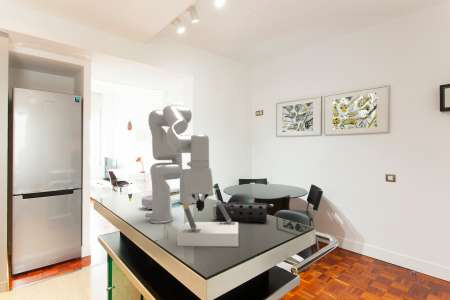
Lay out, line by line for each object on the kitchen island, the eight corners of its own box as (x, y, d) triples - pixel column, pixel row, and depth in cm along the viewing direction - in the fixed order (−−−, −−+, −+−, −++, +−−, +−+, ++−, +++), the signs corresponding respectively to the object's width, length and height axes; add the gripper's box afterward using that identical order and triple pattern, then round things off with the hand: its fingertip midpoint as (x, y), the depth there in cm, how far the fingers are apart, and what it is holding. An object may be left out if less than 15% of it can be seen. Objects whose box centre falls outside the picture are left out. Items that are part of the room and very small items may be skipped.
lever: (228, 224, 107) (216, 203, 108) (228, 222, 111) (216, 201, 111) (231, 222, 107) (219, 201, 108) (231, 220, 111) (219, 199, 111)
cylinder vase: (177, 204, 176) (177, 169, 176) (183, 201, 188) (183, 168, 188) (194, 205, 174) (193, 169, 174) (199, 201, 186) (198, 168, 186)
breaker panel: (177, 245, 96) (177, 232, 96) (186, 232, 112) (186, 221, 112) (238, 246, 95) (238, 233, 95) (238, 233, 111) (238, 221, 111)
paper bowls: (159, 211, 155) (159, 199, 155) (137, 210, 158) (137, 198, 158) (168, 206, 170) (168, 195, 170) (148, 205, 173) (148, 194, 173)
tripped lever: (191, 231, 97) (182, 206, 98) (193, 229, 101) (184, 204, 101) (195, 230, 97) (185, 205, 97) (197, 227, 101) (187, 203, 101)
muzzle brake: (266, 225, 123) (266, 204, 123) (212, 222, 129) (212, 203, 129) (266, 220, 133) (266, 201, 133) (216, 218, 138) (216, 199, 138)
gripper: (179, 165, 96) (180, 212, 96) (217, 165, 95) (217, 212, 95) (183, 164, 103) (184, 208, 103) (218, 164, 103) (219, 208, 102)
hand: (200, 210), depth 99 cm, fingers closed
